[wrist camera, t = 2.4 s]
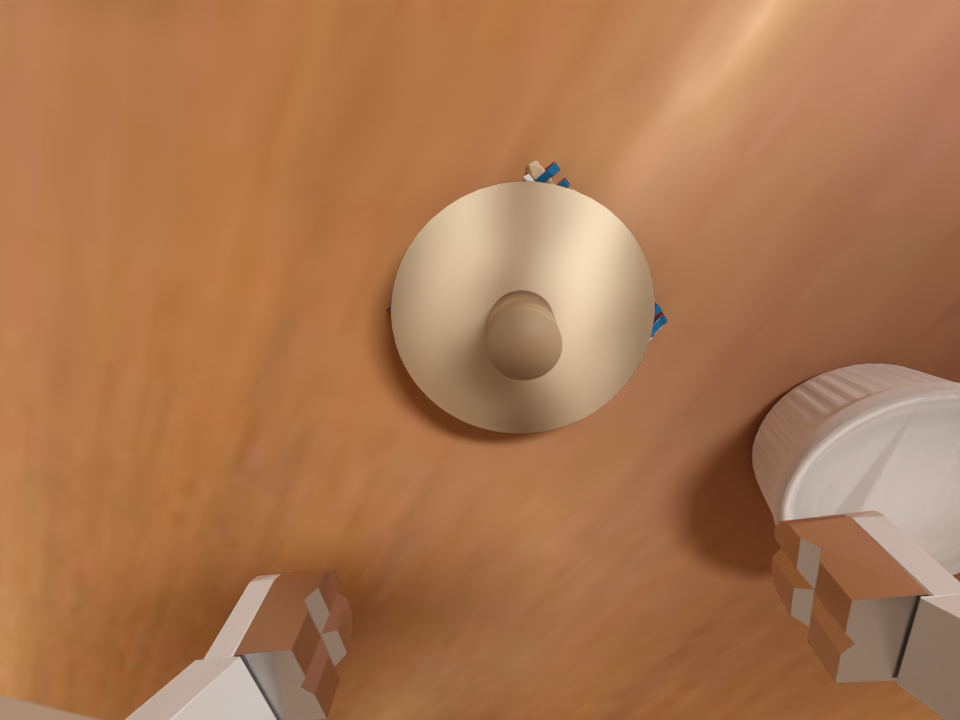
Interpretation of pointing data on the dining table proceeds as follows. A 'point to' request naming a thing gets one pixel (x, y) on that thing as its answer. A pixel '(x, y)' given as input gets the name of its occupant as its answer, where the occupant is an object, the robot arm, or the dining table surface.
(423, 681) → the dining table surface
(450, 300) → the drop lid
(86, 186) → the dining table surface
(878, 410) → the ramekin
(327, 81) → the dining table surface
